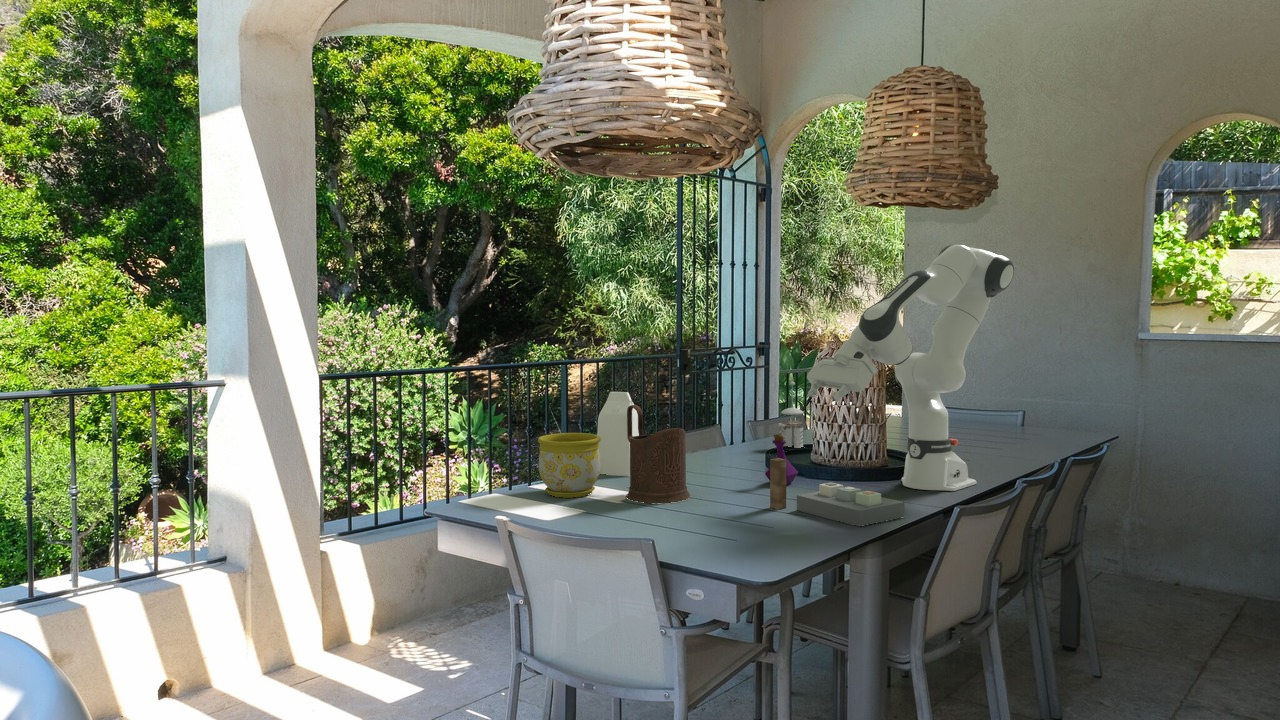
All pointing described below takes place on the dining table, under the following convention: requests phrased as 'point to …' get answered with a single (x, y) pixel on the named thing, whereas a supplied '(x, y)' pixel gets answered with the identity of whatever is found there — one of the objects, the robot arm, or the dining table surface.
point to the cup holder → (656, 463)
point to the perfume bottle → (783, 456)
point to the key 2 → (868, 498)
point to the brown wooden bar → (778, 483)
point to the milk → (616, 434)
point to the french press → (792, 427)
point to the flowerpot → (569, 463)
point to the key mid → (847, 493)
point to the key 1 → (829, 489)
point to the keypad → (849, 509)
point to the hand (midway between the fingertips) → (822, 397)
